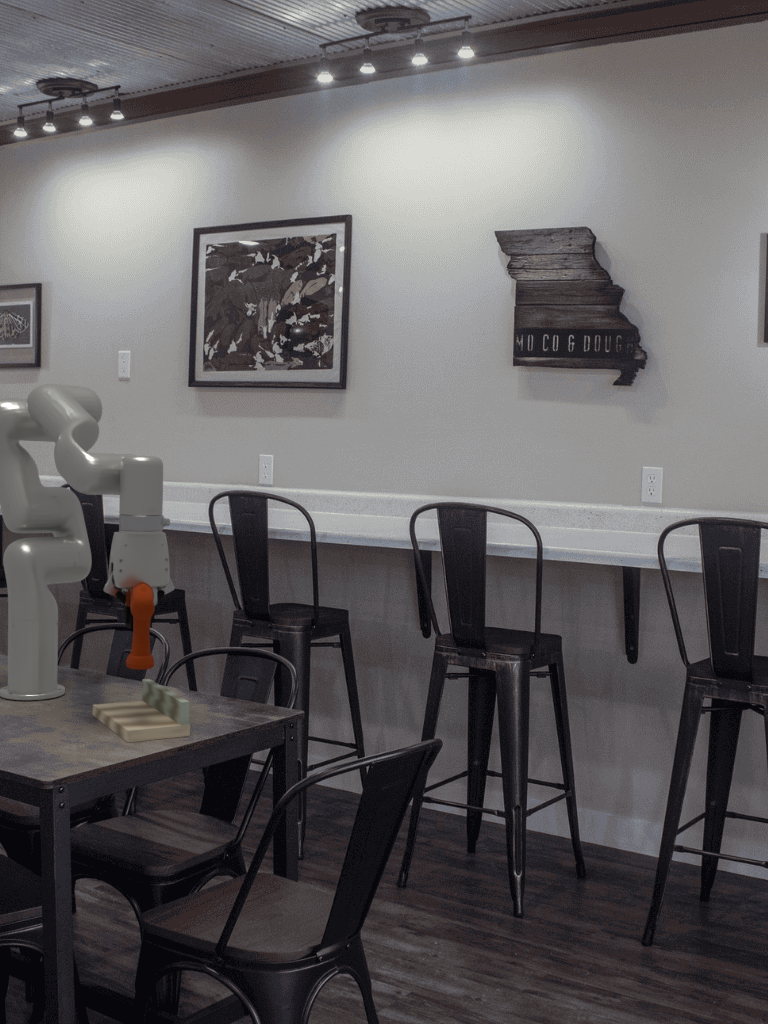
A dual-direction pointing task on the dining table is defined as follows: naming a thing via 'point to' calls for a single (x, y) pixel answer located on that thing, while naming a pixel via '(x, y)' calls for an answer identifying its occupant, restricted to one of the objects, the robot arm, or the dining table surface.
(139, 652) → the toy drill
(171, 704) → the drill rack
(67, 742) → the dining table surface
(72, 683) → the dining table surface
